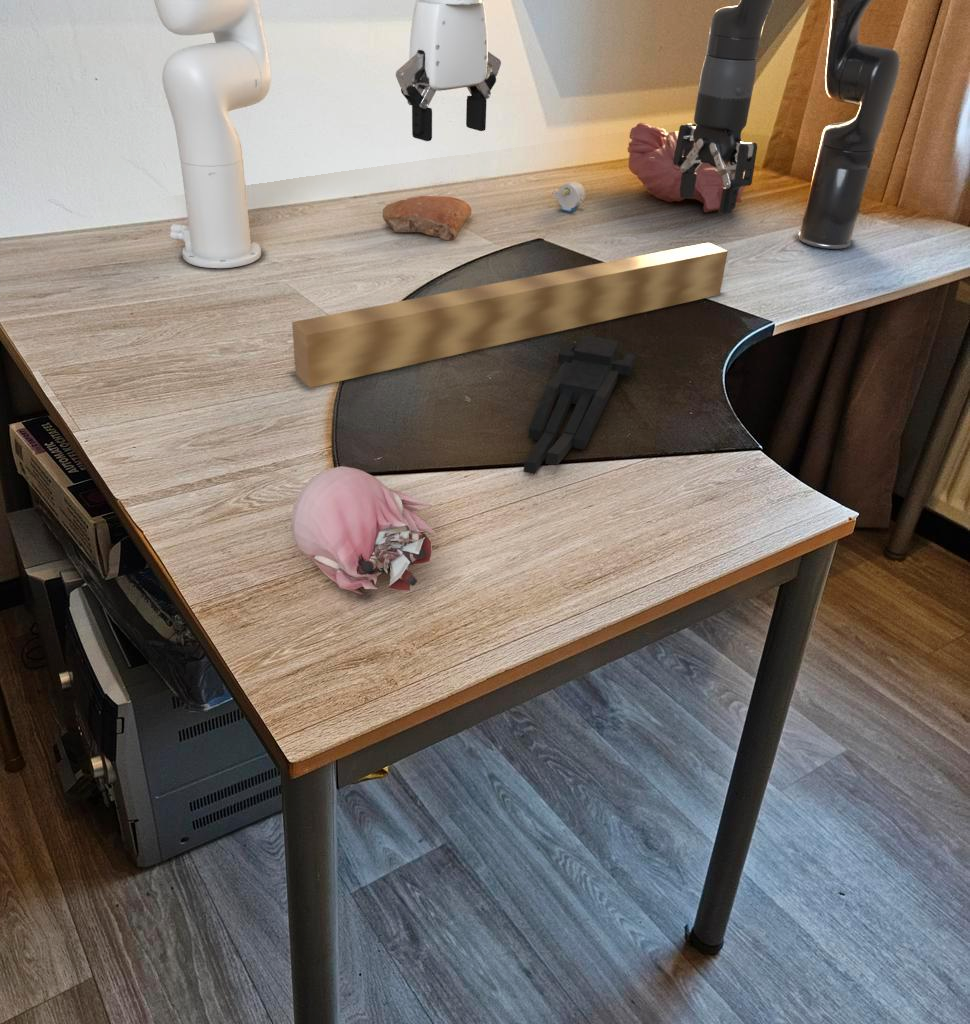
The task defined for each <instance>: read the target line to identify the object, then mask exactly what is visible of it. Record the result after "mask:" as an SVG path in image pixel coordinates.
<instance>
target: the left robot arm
mask: <svg viewBox="0 0 970 1024" xmlns="http://www.w3.org/2000/svg"><path fill="white" fill-rule="evenodd" d="M153 2H154V5H155V8H156V12H157V15H158V18H159V20H160V22H161V24H162V25H163V27H165V28H166V30H167V31H168V32H171V33H172V34H175V35H179V36H197V35H204V34H211V33H212V34H213V38H214V42H208V43H203V44H196V45H191V46H186V47H183V48H181V49H179V50H176V51H174V53H172V54H171V55H170V56H169V57H168V58H167V60H166V61H165V63H164V65H163V69H162V74H161V75H162V77H161V78H162V79H161V80H162V86H163V90H164V94H165V97H166V100H167V103H168V107H169V110H170V113H171V116H172V121H173V125H174V129H175V135H176V140H177V148H178V155H179V160H180V168H181V176H182V183H183V192H184V200H185V208H186V213H187V214H186V216H187V223H188V225H185V224H180V223H172V225H171V226H170V233H169V237H170V239H171V240H175V241H183V242H184V247H183V248H182V250H181V253H182V258H183V260H184V261H185V262H186V263H188V264H190V265H193V266H196V267H199V268H206V269H232V268H239V267H243V266H247V265H249V264H252V263H255V262H257V261H258V260H259V259H260V258H261V257H262V247H261V246H260V245H259V243H257V242H256V241H253V240H251V230H250V220H249V210H248V209H249V208H248V198H247V197H248V196H247V188H246V178H245V167H244V158H243V157H244V156H243V148H242V143H241V139H240V135H239V134H238V131H237V129H236V128H235V126H234V124H233V123H232V121H231V119H230V116H229V112H231V111H234V110H239V109H243V108H247V107H251V106H253V105H256V104H258V103H260V102H262V101H263V100H264V99H265V98H266V97H267V95H268V93H269V91H270V88H271V81H272V69H271V63H270V57H269V52H268V46H267V40H266V35H265V30H264V24H263V20H262V14H261V9H260V5H259V4H260V3H259V0H153ZM485 7H486V6H485V1H484V0H416V1H415V4H414V9H413V14H412V19H411V20H412V21H411V28H410V38H409V56H408V57H409V58H408V61H406V62H405V63H404V64H403V65H402V66H400V68H398V69H397V70H396V72H395V79H396V80H397V83H398V85H399V87H400V92H401V94H402V95H403V97H404V98H405V99H406V101H407V104H408V105H409V106H411V135H412V137H413V138H414V139H418V140H420V141H424V142H431V141H432V139H433V108H432V107H429V105H430V103H431V101H432V100H433V98H434V96H435V94H436V92H441V91H447V90H448V91H450V90H455V89H461V88H467V91H468V92H469V95H466V110H465V111H466V114H465V126H466V128H467V129H468V128H469V129H471V130H475V131H478V132H485V131H486V128H487V126H486V125H487V101H488V99H490V97H491V93H492V92H491V91H492V90H493V87H494V86H495V84H496V82H497V77H498V73H499V70H500V68H501V65H502V61H501V59H499V58H498V57H497V56H495V55H494V54H492V53H491V52H489V50H488V49H489V48H488V25H487V13H486V8H485Z"/></svg>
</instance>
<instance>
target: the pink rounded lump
mask: <svg viewBox="0 0 970 1024" xmlns="http://www.w3.org/2000/svg"><path fill="white" fill-rule="evenodd" d="M414 506H427V507H432V504H429V503H427V502H424V501H422V500H421V499H418V498H416V497H414V496H411V495H409V494H407V493H405V492H401V491H398V490H394V489H392V488H389V487H388V486H387V485H386V484H384V483H383V482H382V481H381V480H379V478H377V477H376V476H374V475H372V474H370V473H367V471H365V470H361V469H358V468H355V467H350V466H349V467H348V466H343V465H342V466H341V465H340V466H336V467H332V468H331V467H330V468H328V469H326V470H324V471H322V472H320V473H318V474H317V475H315V476H314V477H312V478H311V479H310V480H309V481H308V482H307V483H306V484H304V486H303V487H302V488H301V491H299V493H298V495H297V497H296V500H295V502H294V504H293V508H292V513H291V520H290V521H291V522H290V527H291V533H292V536H293V539H294V542H295V546H296V547H297V548H298V549H299V550H300V552H301V553H302V554H303V555H304V556H307V557H309V558H310V559H312V561H313V562H314V564H315V565H316V566H317V567H318V569H319V570H320V571H321V572H322V573H323V574H324V575H325V576H326V577H328V578H329V579H330V580H331V581H332V582H334V583H335V584H336V585H337V586H338V587H339V588H340V589H342V590H346V591H347V590H348V591H351V592H353V593H355V594H359V595H363V593H362V592H361V591H360V590H358V589H359V588H362V587H363V589H365V590H377V589H378V588H377V587H376V584H377V581H378V580H377V579H378V576H380V575H381V574H382V573H386V574H388V569H389V570H390V571H389V576H390V578H389V586H388V589H389V590H393V591H402V592H408V591H409V592H410V591H411V586H412V587H413V586H416V584H417V582H418V579H417V578H416V577H415V576H414V575H413V574H412V573H411V571H410V569H409V567H410V566H417V565H421V564H426V563H428V562H429V563H430V562H431V557H432V551H433V549H432V548H433V545H432V541H431V539H430V537H429V536H427V534H425V533H424V532H426V533H429V534H430V533H431V534H435V535H437V533H436V532H435V531H434V530H433V529H432V528H431V527H430V526H429V525H428V524H427V523H426V522H425V521H424V520H422V519H421V518H420V517H419V516H417V515H416V514H415V513H414V512H419V511H421V509H419V508H417V507H414ZM420 531H422V532H420ZM372 581H373V583H374V584H373V583H372Z"/></svg>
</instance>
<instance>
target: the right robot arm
mask: <svg viewBox="0 0 970 1024" xmlns="http://www.w3.org/2000/svg"><path fill="white" fill-rule="evenodd" d="M774 1H775V0H740V1H739V3H738V5H733V6H725V7H721V8H718V9H717V10H715V12H714V13H713V15H712V18H711V22H710V27H709V33H708V34H709V35H708V39H707V47H706V54H705V58H704V61H703V65H702V67H701V72H700V79H699V85H698V91H697V96H696V97H697V98H696V103H695V110H694V116H693V121H694V123H685V124H681V125H680V126H679V128H678V131H679V133H678V138H677V144H676V149H675V154H674V159H673V163H674V165H678V166H679V167H680V170H681V172H682V177H681V184H680V197H681V198H683V200H687V199H688V198H692V197H693V195H694V190H695V184H696V178H697V173H695V171H696V170H697V169H698V168H699V167H700V165H701V164H702V163H709V164H710V165H711V166H714V167H716V168H717V171H718V173H719V174H720V175H721V176H722V179H723V183H724V186H725V188H723V191H722V197H721V202H720V208H719V210H718V212H719V213H720V214H721V215H728V214H732V212H733V211H734V210H735V208H736V205H737V203H736V200H737V195H738V190H739V188H740V187H744V186H745V187H749V186H752V184H753V178H754V173H755V172H754V170H755V165H756V158H757V151H758V143H756V142H755V141H754V142H744V141H742V131H743V130H744V128H745V127H746V126H747V123H748V118H749V112H750V107H751V101H752V96H753V92H754V91H753V90H754V85H755V81H756V73H757V60H758V54H759V49H760V43H761V39H762V33H763V29H764V25H765V22H766V21H767V18H768V15H769V13H770V10H771V8H772V6H773V3H774ZM872 2H873V0H831V9H830V11H831V12H830V25H829V36H828V45H827V55H826V62H825V63H826V65H825V75H824V82H825V83H824V84H825V85H824V86H825V91H826V94H827V97H829V98H830V99H831V100H834V101H837V102H840V103H845V104H848V105H849V104H850V105H854V106H859V108H858V111H857V114H856V115H855V116H854V117H853V118H851V119H849V120H845V121H840V122H834V123H830V124H827V125H826V126H825V127H824V129H823V131H822V133H821V139H820V144H819V148H818V151H817V156H816V160H815V166H814V169H813V173H812V179H811V183H810V187H809V192H808V195H807V201H806V204H805V209H804V212H803V215H802V217H801V226H800V231H799V233H798V237H797V238H798V240H799V241H800V242H801V243H803V244H805V245H808V246H811V247H814V248H819V249H825V250H842V249H846V248H848V247H850V246H851V243H852V237H853V233H854V230H855V226H856V222H857V218H858V214H859V211H860V207H861V203H862V199H863V197H864V196H863V195H864V192H865V187H866V184H867V180H868V176H869V173H870V169H871V164H872V161H873V157H874V153H875V149H876V147H877V146H876V145H877V142H878V139H879V136H880V134H881V132H882V129H883V127H884V122H885V119H886V116H887V112H888V109H889V106H890V102H891V100H892V97H893V94H894V92H895V91H894V90H895V87H896V84H897V81H898V77H899V72H900V64H901V63H900V56H899V53H898V52H897V51H896V50H895V49H892V48H887V47H882V46H876V45H869V44H862V43H860V41H859V29H860V23H861V19H862V17H863V16H864V14H865V12H866V10H867V9H868V8H869V6H870V4H871V3H872ZM694 142H695V146H694V147H693V145H694ZM684 149H685V150H684ZM683 150H684V155H683V157H682V153H683ZM729 162H730V164H731V165H729V166H727V165H726V164H728V163H729ZM744 172H745V175H744ZM730 174H731V176H732V180H731V176H730ZM743 175H744V178H743ZM745 187H744V188H745ZM688 200H689V199H688Z"/></svg>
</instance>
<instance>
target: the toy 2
mask: <svg viewBox="0 0 970 1024" xmlns="http://www.w3.org/2000/svg"><path fill="white" fill-rule="evenodd" d="M619 342H620V341H619V340H615V339H610V338H603V337H597V336H591V335H585V334H583V335H582V336H581V337H580V339H579V341H578V342H577V344H576V343H573V342H565V343H564V344H563V345H562V348H561V350H560V351H559V353H558V358H557V363H558V364H561V366H559V368H558V370H557V371H556V372H555V373H554V375H553V377H552V378H551V379H550V381H549V382H548V384H547V385H546V386H545V388H544V391H543V392H542V395H541V398H540V401H539V403H538V406H537V407H536V410H535V413H534V415H533V418H532V421H531V423H530V425H529V427H528V439H533V440H537V442H536V444H535V445H534V447H532V450H531V451H530V452H529V454H528V455H527V457H526V458H525V460H524V462H523V473H527V474H531V475H536V473H537V472H538V471H539V469H540V467H541V465H542V464H543V462H544V461H545V465H546V464H547V465H551V466H556V467H557V466H558V465H559V464H560V463H561V462H562V461H563V459H564V458H565V457H566V455H567V454H568V453H569V452H570V450H571V449H572V448H573V449H574V448H575V449H580V450H585V449H586V446H587V445H588V442H589V440H590V438H591V436H592V434H593V432H594V430H595V427H596V425H597V423H598V421H599V419H600V417H601V415H602V413H603V411H604V408H605V406H606V404H607V402H608V401H609V398H610V396H611V394H612V393H613V391H614V388H615V386H616V384H617V382H618V377H619V374H620V375H625V376H630V374H631V372H632V370H633V367H634V365H635V361H636V355H637V354H635V353H631V352H625V354H624V356H623V358H622V359H617V358H618V350H619ZM556 399H557V402H556V404H555V406H554V409H553V411H552V408H553V405H554V403H555V401H556ZM571 404H572V405H573V404H574V405H575V406H574V408H573V411H572V413H571V415H570V418H569V420H568V422H567V425H566V427H565V428H564V431H563V433H562V434H561V436H560V437H559V438H558V439H557V437H558V435H559V434H560V431H561V428H562V426H563V424H564V421H565V419H566V417H567V415H568V412H569V409H570V407H571ZM551 411H552V413H551ZM550 413H551V415H550ZM549 416H550V417H549ZM548 418H549V420H548ZM547 421H548V422H547Z"/></svg>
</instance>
